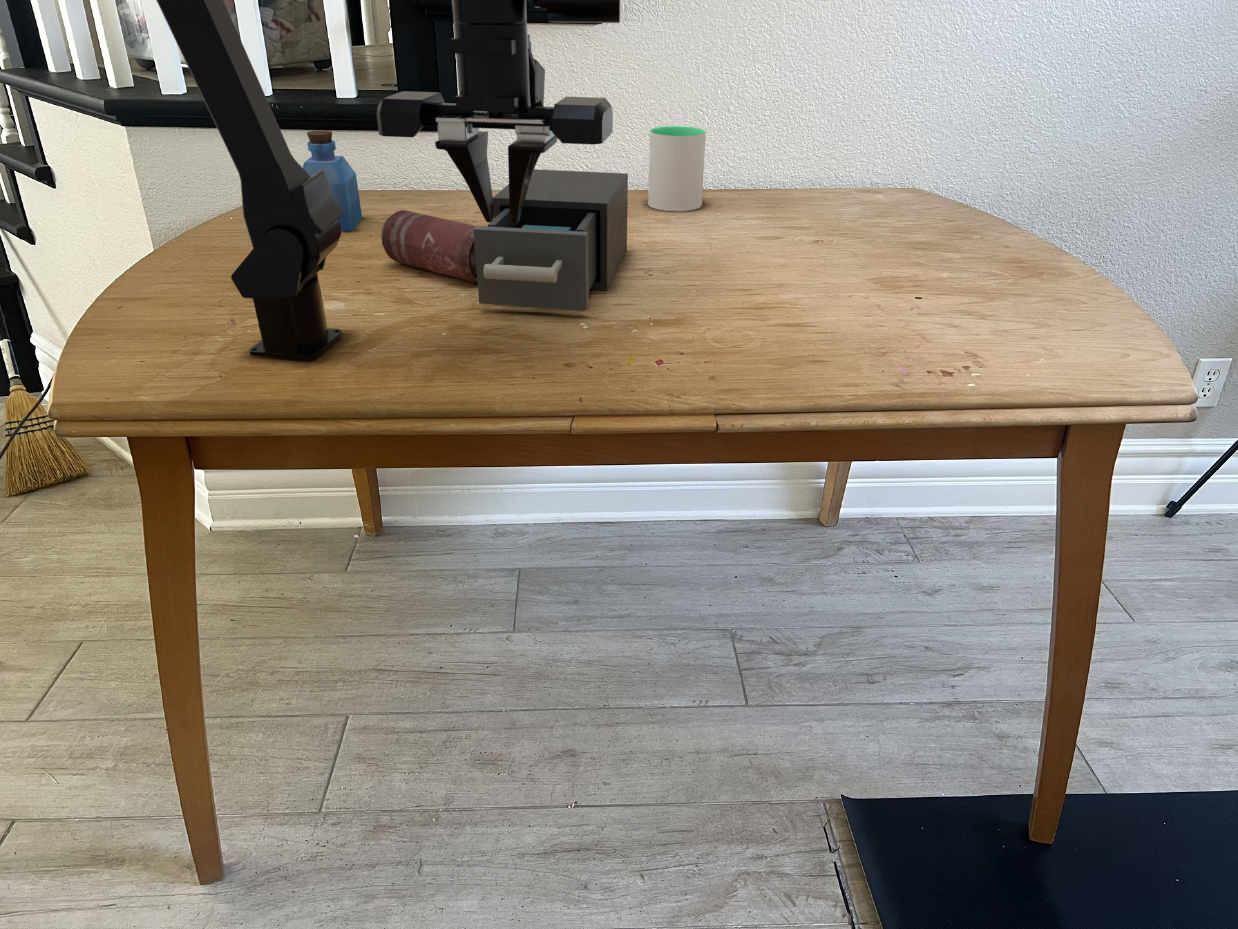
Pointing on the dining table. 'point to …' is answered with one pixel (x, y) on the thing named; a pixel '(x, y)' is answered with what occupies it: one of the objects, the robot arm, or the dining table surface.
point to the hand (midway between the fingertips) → (502, 221)
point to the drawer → (538, 258)
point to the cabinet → (583, 208)
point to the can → (431, 244)
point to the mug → (676, 168)
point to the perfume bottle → (335, 176)
